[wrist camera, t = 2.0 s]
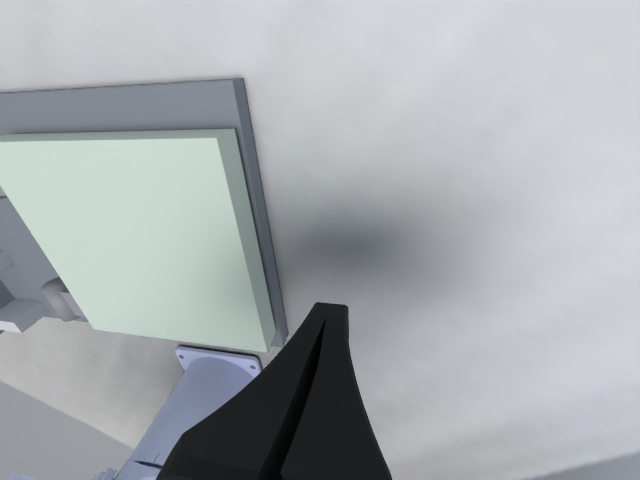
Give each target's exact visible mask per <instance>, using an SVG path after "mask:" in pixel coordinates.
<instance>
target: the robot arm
mask: <svg viewBox="0 0 640 480" xmlns="http://www.w3.org/2000/svg"><path fill="white" fill-rule="evenodd" d="M175 353H176V355H177V358H178V360H179V362H180V364H181V366H182V368H183V370H184V374H183V375H182V377H181V378H180V380H179V381H178V383H177V385H176V386H175V388H174V389H173V391H172V392H171V394H170V396H169V397H168V399H167V400H166V402H165V403H164V405H163V406H162V408H161V410H160V411H159V413H158V414H157V416H156V417H155V419H154V420H153V422H152V424H151V425H150V427H149V428H148V430H147V431H146V433H145V435H144V436H143V438H142V439H141V441H140V442H139V444H138V445H137V447H136V449H135V450H134V452H133V453H132V455H131V456H130V458H129V459H128V460H127V462H126V463H125V464H124V466H123V467H122V468H121V470H120V471H119V472H118V474H117V475H116V477H115V478H113V477H114V475H115V474H116V472H117V471H116V470H114V469H112V468H109V469H107V470H106V472H101V473H99V474H97V475H95V477H94V478H93V479H92V480H392V477H391V474H390V471H389V469H388V467H387V464H386V462H385V460H384V457H383V455H382V453H381V450H380V448H379V445H378V443H377V440H376V438H375V435H374V433H373V430H372V427H371V425H370V422H369V419H368V416H367V413H366V411H365V408H364V405H363V401H362V398H361V395H360V392H359V388H358V385H357V381H356V377H355V373H354V369H353V364H352V360H351V355H350V349H349V317H348V307H347V306H346V305H340V304H330V303H320V302H317V303H315V304H314V306H313V308H312V309H311V311H310V313H309V314H308V316H307V317H306V319H305V320H304V321H303V323H302V324H301V326H300V327H299V328H298V330H297V331H296V332H295V334H294V335H293V336H292V338H291V339H290V340H289V341H288V343H287V344H286V345H285V346H284V347H283V349H282V350H281V351H280V352H279V353H278V354H277V356H276V357H275V358H274V359H273V360H272V361H271V362H270V363H269V364H268V365H267V366H266V367H265V368H264V369H263V370H262V371H261V368H260V364H259V361H258V359H257V358H256V357H253V356H247V355H239V354H232V353H225V352H218V351H210V350H203V349H196V348H189V347H181V346H178V347H177V348H176V349H175ZM6 480H37V479H34V478H29V477H26V476H23V475H19V474H15V473H14V474H11V475H10V476H9V477H8V478H7V479H6Z"/></svg>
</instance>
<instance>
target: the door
mask: <svg viewBox="0 0 640 480" xmlns="http://www.w3.org/2000/svg"><path fill="white" fill-rule="evenodd" d="M7 197H8V198H9V200H10V201H11V203H12V204H13V206H14V207H15V209H16V210H17V212H18V214H19V215H20V217H21V218H22V220H23V221H24V223H25V224H26V226H27V227H28V229H29V230H30V232H31V233H32V235H33V237H34V238H35V240H36V241H37V243H38V244H39V246H40V247H41V249H42V250H43V252H44V253H45V255H46V257H47V258H48V260H49V261H50V263H51V264H52V266H53V267H54V269H55V270H56V272H57V273H58V275H59V276H60V277H57V278H54V279H52V280H50V281H48V282H46V283H45V284H44V285H43V286H42V287H41V291H42V292H43V294H44V295H45V297H46V298H47V299H48V301H49V302H50V304H51V305H52V306H53V308H54V309H55V311H56V312H57V313H58V315H59V316H60V318H61V319H62V320H63V321H73V320H75V319H78V318H80V317H86V318H87V319H88V321H89V323H90V324H91V326H92V327H93V329H95V330H102V331H110V332H117V333H125V334H132V335H139V336H147V337H154V338H162V339H169V340H177V341H184V342H192V343H199V344H207V345H214V346H221V347H229V348H236V349H244V350H251V351H259V352H266V353H267V352H268V350H269V347H270V345H271V342H272V340H273V338H274V335H275V333H276V330H275V325H274V320H273V315H272V310H271V305H270V300H269V295H268V290H267V286H266V281H265V276H264V271H263V266H262V261H261V256H260V251H259V246H258V241H257V236H256V231H255V226H254V221H253V217H252V212H251V207H250V202H249V197H248V192H247V187H246V182H245V177H244V172H243V167H242V162H241V157H240V152H239V148H238V143H237V138H236V133H235V129H198V130H158V131H117V132H77V133H36V134H7V135H3V136H0V199H4V198H7Z"/></svg>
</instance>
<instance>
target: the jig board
mask: <svg viewBox="0 0 640 480" xmlns="http://www.w3.org/2000/svg"><path fill="white" fill-rule="evenodd" d="M198 129H235V133H236V138H237V143H238V148H239V152H240V157H241V162H242V167H243V172H244V177H245V182H246V187H247V192H248V197H249V202H250V207H251V212H252V217H253V221H254V226H255V231H256V236H257V241H258V246H259V251H260V256H261V261H262V266H263V271H264V276H265V281H266V286H267V290H268V295H269V300H270V305H271V310H272V315H273V320H274V325H275V330H276V333H275V335H274V338H273V340H272V342H271V345H270V346H277V347H284V344H285V341H286V339H287V336H288V333H287V327H286V321H285V315H284V310H283V304H282V298H281V292H280V287H279V281H278V275H277V270H276V264H275V258H274V252H273V247H272V241H271V235H270V229H269V224H268V218H267V212H266V206H265V201H264V195H263V189H262V184H261V178H260V172H259V166H258V161H257V155H256V149H255V143H254V138H253V132H252V126H251V120H250V115H249V109H248V103H247V98H246V92H245V86H244V80H243V78H239V79H223V80H206V81H190V82H174V83H157V84H141V85H124V86H108V87H91V88H75V89H58V90H42V91H26V92H9V93H0V136H3V135H7V134H36V133H77V132H117V131H158V130H198ZM57 277H60V276H59V275H58V273H57V272H56V270H55V269H54V267H53V266H52V264H51V263H50V261H49V260H48V258H47V257H46V255H45V253H44V252H43V250H42V249H41V247H40V246H39V244H38V243H37V241H36V240H35V238H34V237H33V235H32V233H31V232H30V230H29V229H28V227H27V226H26V224H25V223H24V221H23V220H22V218H21V217H20V215H19V214H18V212H17V210H16V209H15V207H14V206H13V204H12V203H11V201H10V200H9V198H8V197H7V198H4V199H0V334H1V333H2V332H4V331H12V332H19V333H23V332H24V331H25V330H26V329H28V328H29V327H30V326H32V325H33V324H34V323H36V322H37V321H38V320H39V319H41V318H42V317H43V316H45V317H53V318H60V316H59V315H58V313H57V312H56V311H55V309H54V308H53V306H52V305H51V304H50V302H49V301H48V299H47V298H46V297H45V295H44V294H43V292H42V291H41V287H42V286H43V285H44V284H45V283H46V282H48V281H50V280H52V279H54V278H57ZM60 319H61V318H60ZM75 320H76V321H84V322H89V321H88V319H87V318H86V317H80V318H78V319H75Z"/></svg>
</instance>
